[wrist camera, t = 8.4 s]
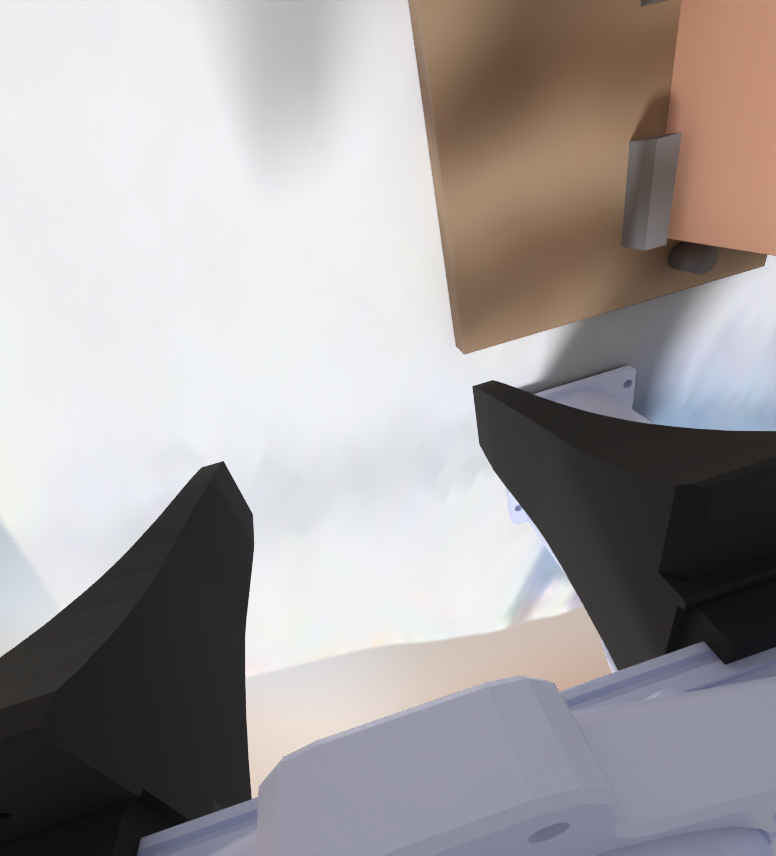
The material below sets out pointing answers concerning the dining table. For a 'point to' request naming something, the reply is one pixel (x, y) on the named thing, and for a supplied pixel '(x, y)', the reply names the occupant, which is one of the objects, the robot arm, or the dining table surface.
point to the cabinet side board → (554, 161)
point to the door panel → (725, 125)
